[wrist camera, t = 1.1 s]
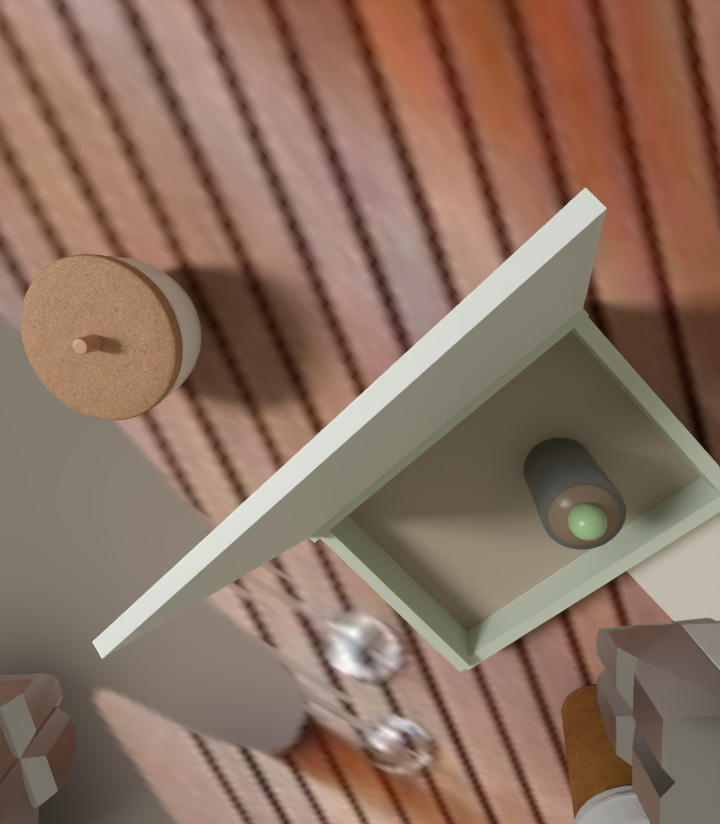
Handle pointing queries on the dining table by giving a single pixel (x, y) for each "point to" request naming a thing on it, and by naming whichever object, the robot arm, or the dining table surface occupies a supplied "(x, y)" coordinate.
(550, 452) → the nursery pot
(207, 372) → the dining table surface
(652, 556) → the stone tile
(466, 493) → the pale grey-green hollow box
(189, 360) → the lidded jar
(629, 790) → the disposable coffee cup
